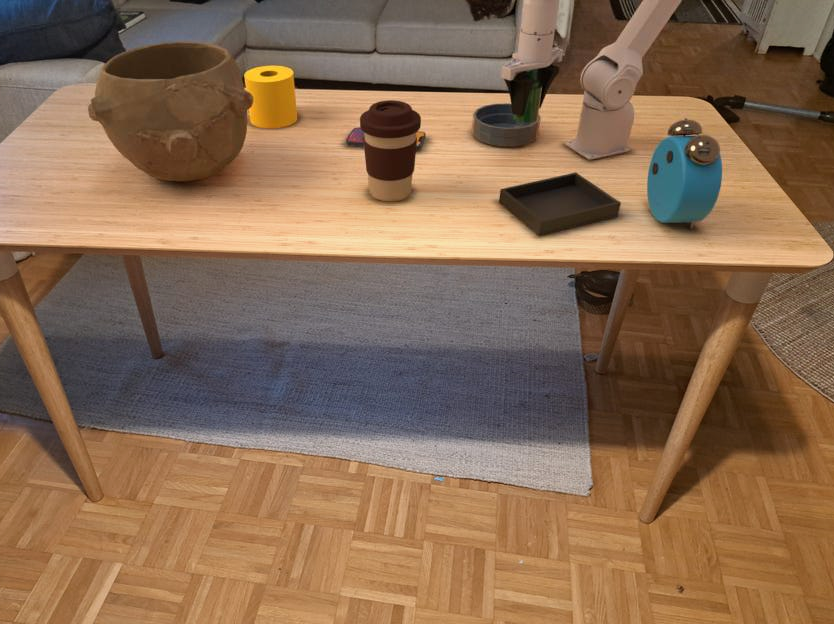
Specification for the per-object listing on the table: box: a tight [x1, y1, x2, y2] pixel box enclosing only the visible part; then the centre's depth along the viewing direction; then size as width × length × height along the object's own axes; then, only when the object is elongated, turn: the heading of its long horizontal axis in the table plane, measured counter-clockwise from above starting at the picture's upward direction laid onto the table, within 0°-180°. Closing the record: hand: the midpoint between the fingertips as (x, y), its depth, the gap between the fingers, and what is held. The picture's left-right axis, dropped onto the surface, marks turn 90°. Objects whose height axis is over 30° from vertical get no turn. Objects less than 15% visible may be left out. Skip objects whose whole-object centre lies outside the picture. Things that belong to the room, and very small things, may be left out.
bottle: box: [513, 69, 542, 123], centre depth 121 cm, size 4×4×9 cm
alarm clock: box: [646, 117, 723, 229], centre depth 106 cm, size 13×6×15 cm, turn 2°
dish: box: [471, 102, 542, 148], centre depth 136 cm, size 13×13×4 cm
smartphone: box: [345, 126, 427, 152], centre depth 135 cm, size 7×15×1 cm, turn 75°
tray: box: [498, 171, 622, 237], centre depth 113 cm, size 15×12×2 cm
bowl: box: [87, 40, 253, 182], centre depth 121 cm, size 27×29×20 cm
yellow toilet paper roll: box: [243, 65, 298, 129], centre depth 142 cm, size 10×10×9 cm
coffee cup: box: [359, 99, 422, 202], centre depth 114 cm, size 10×10×15 cm
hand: (526, 110), depth 123 cm, fingers closed on bottle, 4 cm apart
